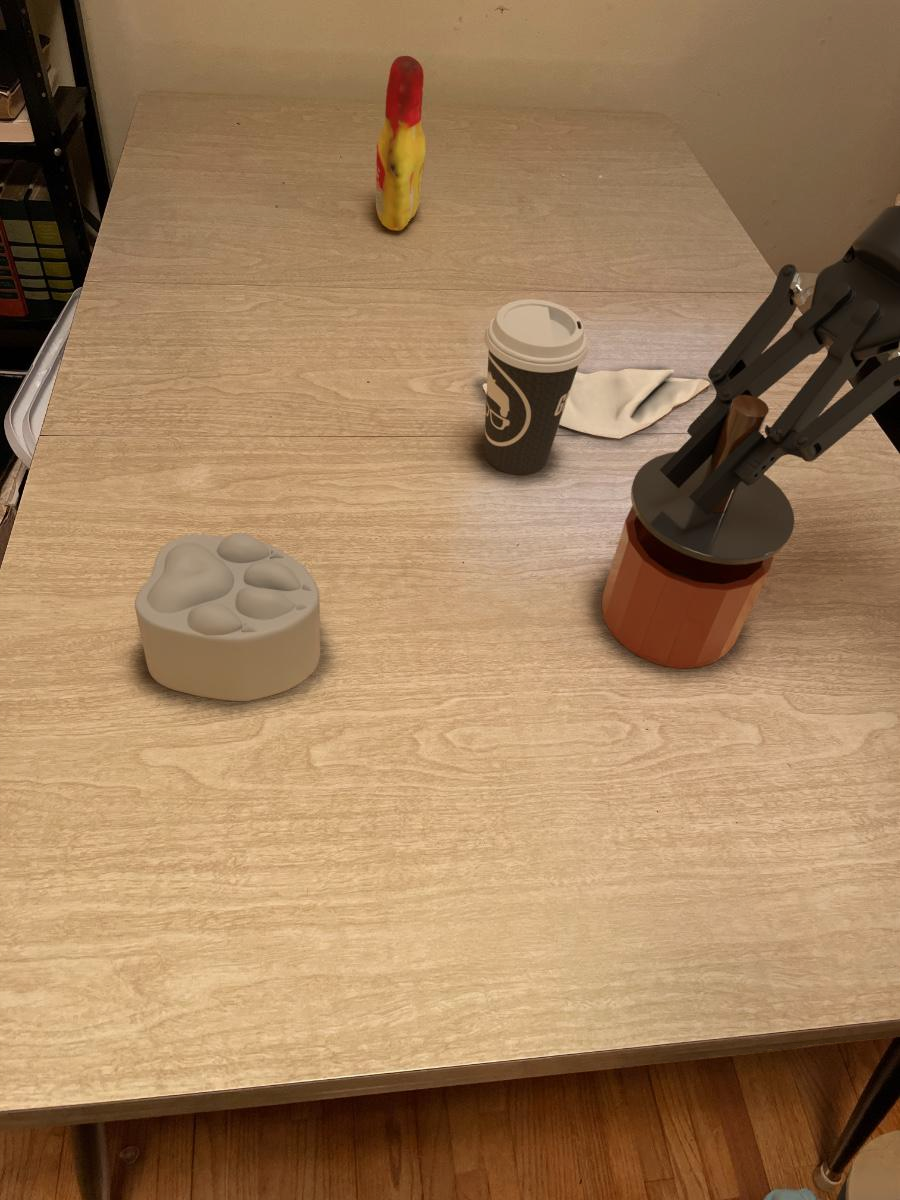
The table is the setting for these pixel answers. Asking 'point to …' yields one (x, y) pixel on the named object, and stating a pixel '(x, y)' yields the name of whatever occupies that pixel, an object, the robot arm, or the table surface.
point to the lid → (739, 522)
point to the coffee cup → (529, 381)
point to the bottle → (401, 146)
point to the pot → (676, 600)
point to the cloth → (623, 400)
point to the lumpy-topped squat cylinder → (228, 618)
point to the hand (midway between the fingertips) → (684, 492)
